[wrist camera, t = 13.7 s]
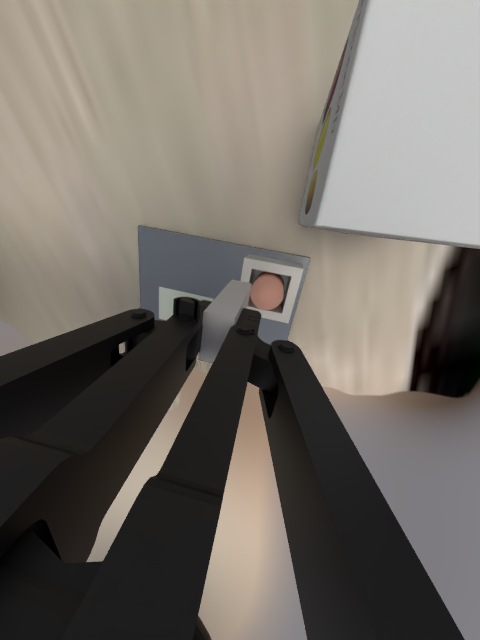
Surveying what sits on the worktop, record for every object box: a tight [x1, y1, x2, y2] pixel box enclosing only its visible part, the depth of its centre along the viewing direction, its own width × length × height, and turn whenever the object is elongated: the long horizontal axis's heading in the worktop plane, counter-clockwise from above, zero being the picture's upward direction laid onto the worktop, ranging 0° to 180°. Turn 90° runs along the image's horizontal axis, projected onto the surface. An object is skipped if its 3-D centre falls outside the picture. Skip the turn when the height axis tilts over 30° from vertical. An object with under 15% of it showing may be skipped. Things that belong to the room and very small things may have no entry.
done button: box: [250, 271, 284, 310], centre depth 26 cm, size 4×4×4 cm
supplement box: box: [299, 0, 480, 249], centre depth 15 cm, size 10×9×17 cm
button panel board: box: [138, 226, 310, 345], centre depth 29 cm, size 22×16×4 cm
